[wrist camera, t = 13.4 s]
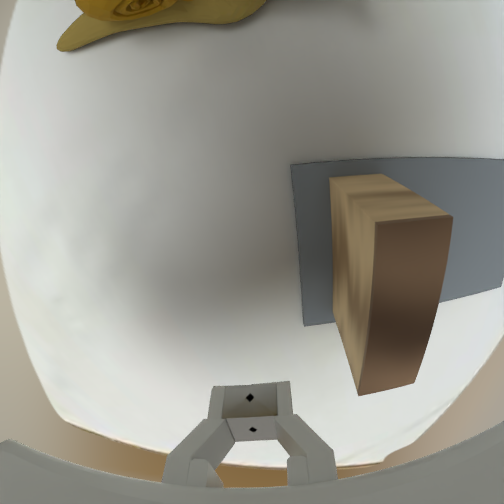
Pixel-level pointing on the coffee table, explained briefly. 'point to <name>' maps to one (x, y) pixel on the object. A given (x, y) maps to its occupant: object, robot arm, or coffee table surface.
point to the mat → (427, 186)
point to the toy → (148, 16)
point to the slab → (385, 276)
